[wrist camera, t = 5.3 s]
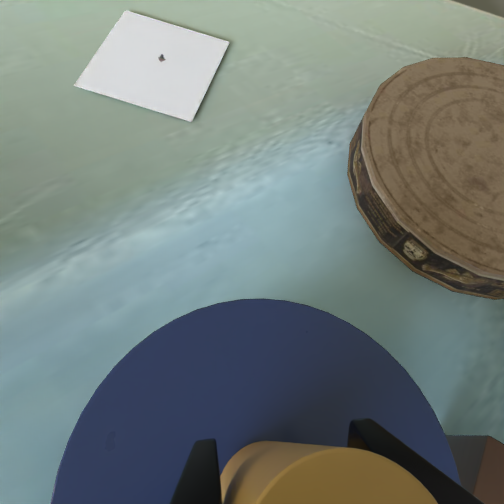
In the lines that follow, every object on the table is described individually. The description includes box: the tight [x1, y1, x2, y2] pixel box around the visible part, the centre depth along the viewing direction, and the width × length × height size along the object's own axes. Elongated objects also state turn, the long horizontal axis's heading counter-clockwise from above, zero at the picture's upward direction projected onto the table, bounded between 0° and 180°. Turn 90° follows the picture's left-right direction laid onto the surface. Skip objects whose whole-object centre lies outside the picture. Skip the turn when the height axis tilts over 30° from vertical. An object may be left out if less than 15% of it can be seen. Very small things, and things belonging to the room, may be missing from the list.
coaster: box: [74, 10, 230, 122], centre depth 27 cm, size 8×8×1 cm
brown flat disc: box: [347, 57, 504, 300], centre depth 25 cm, size 16×16×3 cm
